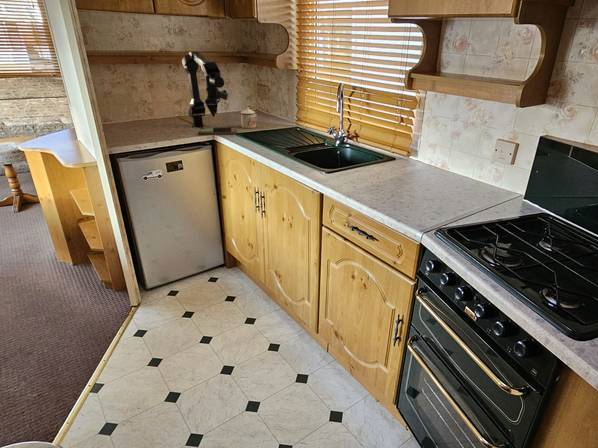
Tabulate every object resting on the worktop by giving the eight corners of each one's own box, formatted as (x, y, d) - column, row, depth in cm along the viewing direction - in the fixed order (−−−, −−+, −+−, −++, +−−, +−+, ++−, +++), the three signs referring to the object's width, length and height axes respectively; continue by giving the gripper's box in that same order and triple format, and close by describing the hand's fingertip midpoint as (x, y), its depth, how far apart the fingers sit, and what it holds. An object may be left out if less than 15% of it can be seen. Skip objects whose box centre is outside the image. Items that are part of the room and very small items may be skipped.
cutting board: (200, 131, 236) (200, 129, 235) (235, 131, 239) (235, 128, 238) (198, 135, 228) (198, 132, 227) (234, 134, 230) (234, 131, 230)
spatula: (200, 132, 227) (199, 128, 226) (201, 130, 233) (201, 126, 232) (230, 131, 230) (230, 128, 229) (231, 129, 235) (231, 126, 234)
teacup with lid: (249, 129, 244) (247, 109, 239) (238, 127, 248) (236, 107, 244) (262, 126, 253) (261, 106, 248) (251, 124, 258) (250, 105, 253)
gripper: (224, 88, 215) (227, 117, 221) (228, 84, 231) (230, 111, 238) (203, 88, 213) (206, 118, 220) (208, 84, 230) (211, 112, 236)
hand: (214, 114), depth 229 cm, fingers open, 9 cm apart
